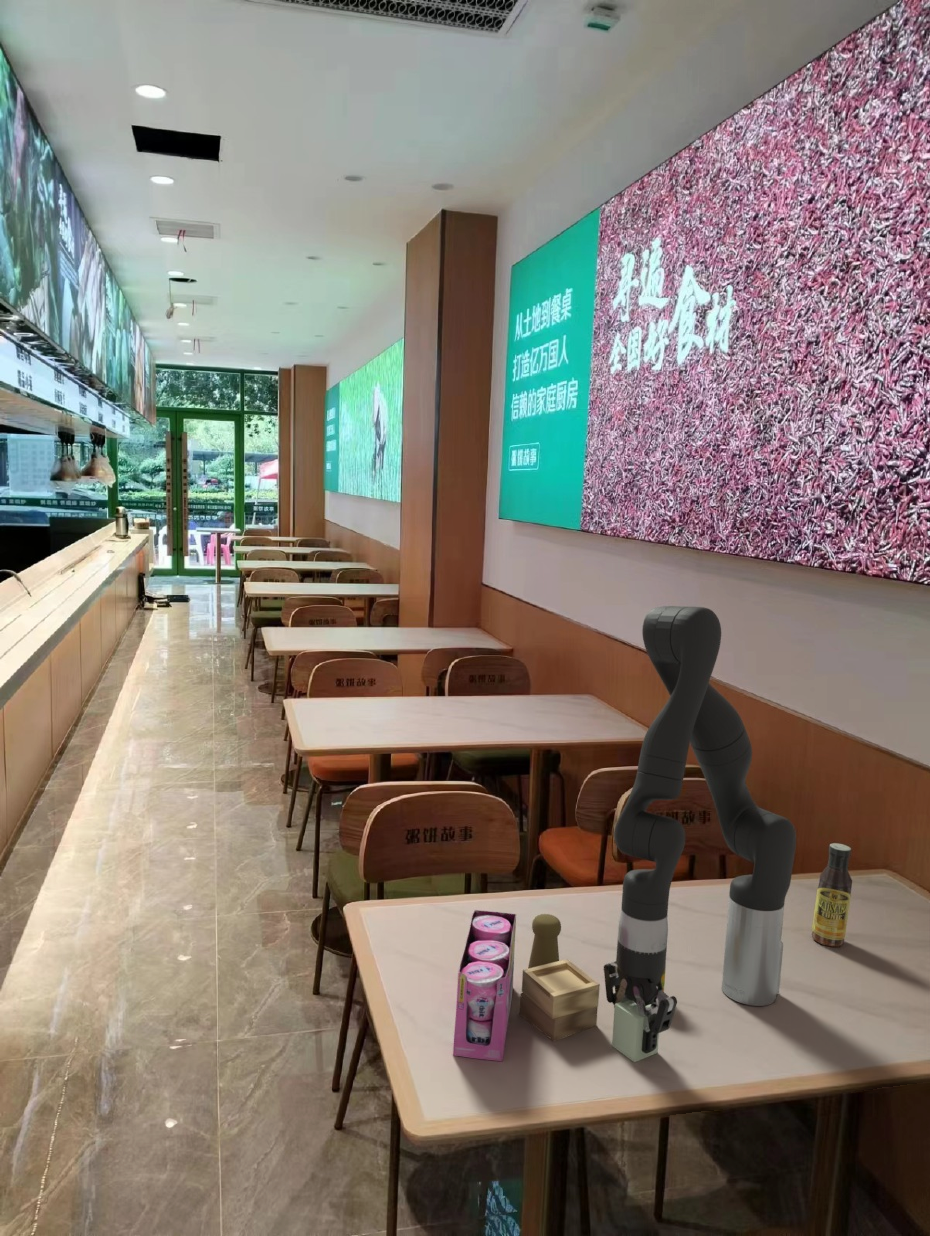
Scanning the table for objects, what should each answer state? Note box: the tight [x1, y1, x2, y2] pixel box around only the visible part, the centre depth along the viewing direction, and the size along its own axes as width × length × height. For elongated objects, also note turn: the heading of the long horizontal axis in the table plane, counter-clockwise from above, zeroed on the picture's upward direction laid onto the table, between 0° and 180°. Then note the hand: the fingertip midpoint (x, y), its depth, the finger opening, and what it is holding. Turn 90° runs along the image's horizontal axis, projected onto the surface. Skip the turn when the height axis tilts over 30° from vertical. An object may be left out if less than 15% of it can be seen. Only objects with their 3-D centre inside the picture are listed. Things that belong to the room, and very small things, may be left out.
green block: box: [611, 1000, 660, 1063], centre depth 143 cm, size 5×5×7 cm
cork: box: [527, 913, 562, 969], centre depth 164 cm, size 6×6×11 cm
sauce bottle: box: [811, 842, 853, 948], centre depth 182 cm, size 7×6×20 cm
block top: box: [521, 958, 600, 1019], centre depth 150 cm, size 9×9×4 cm
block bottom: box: [519, 992, 599, 1042], centre depth 150 cm, size 9×9×4 cm
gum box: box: [452, 909, 517, 1062], centre depth 148 cm, size 24×8×14 cm, turn 173°
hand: (635, 1041), depth 143 cm, fingers closed on green block, 5 cm apart
